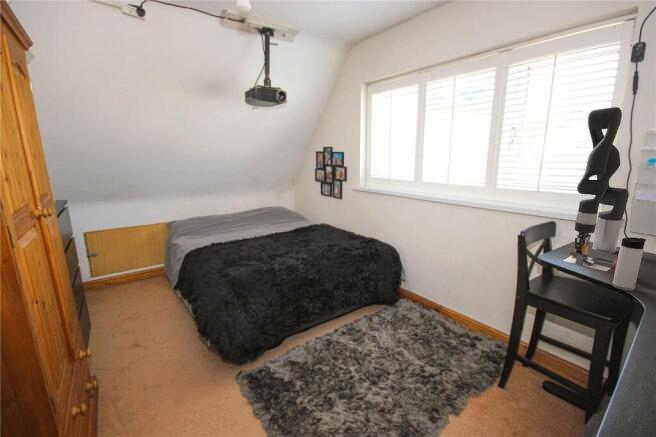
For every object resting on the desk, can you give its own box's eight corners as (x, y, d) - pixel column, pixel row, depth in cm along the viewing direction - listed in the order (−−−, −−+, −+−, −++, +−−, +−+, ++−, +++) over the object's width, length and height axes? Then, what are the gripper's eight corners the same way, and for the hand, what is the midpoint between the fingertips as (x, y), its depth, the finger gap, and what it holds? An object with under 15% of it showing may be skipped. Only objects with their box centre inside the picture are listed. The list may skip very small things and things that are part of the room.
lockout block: (576, 255, 153) (578, 243, 152) (586, 257, 150) (588, 245, 149) (573, 256, 151) (575, 245, 149) (583, 259, 148) (585, 247, 146)
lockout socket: (595, 259, 147) (596, 256, 147) (617, 264, 141) (618, 260, 141) (590, 262, 143) (590, 259, 143) (612, 268, 137) (613, 264, 136)
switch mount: (580, 260, 146) (581, 253, 145) (586, 261, 144) (587, 255, 143) (575, 263, 142) (576, 256, 142) (581, 264, 140) (583, 257, 140)
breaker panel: (573, 256, 155) (574, 253, 154) (616, 265, 142) (616, 262, 142) (562, 263, 146) (563, 259, 146) (606, 273, 134) (607, 269, 133)
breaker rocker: (572, 252, 147) (573, 250, 146) (593, 264, 141) (595, 261, 140) (569, 254, 145) (570, 252, 144) (590, 266, 139) (592, 263, 138)
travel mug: (639, 291, 117) (651, 241, 112) (619, 290, 118) (630, 240, 114) (627, 284, 123) (638, 236, 118) (608, 283, 124) (618, 235, 120)
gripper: (581, 218, 153) (575, 251, 157) (570, 222, 145) (564, 257, 149) (600, 221, 148) (594, 255, 151) (590, 225, 139) (584, 261, 143)
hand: (579, 256), depth 150 cm, fingers closed on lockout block, 4 cm apart
